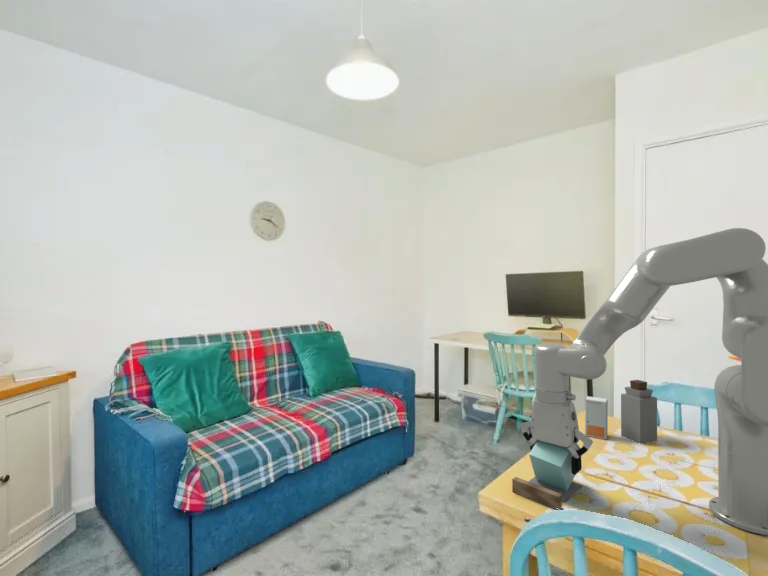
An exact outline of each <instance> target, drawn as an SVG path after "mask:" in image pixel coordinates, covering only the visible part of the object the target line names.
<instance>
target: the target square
mask: <svg viewBox="0 0 768 576" xmlns="http://www.w3.org/2000/svg"><path fill="white" fill-rule="evenodd" d="M527 481H528V482H531V483H533V484H536V485H539V486H541V487H544V488H547V489H549V490H552V491H555V492H557V493H560V494H562V501H563V502H562V503H565V501H566V500H567V499H568V498H569V499H570V498H571V497H572V496H573V495H574V494H576V493H577V490H578V489H579V488H580V489H582V487H581V486H582V485H581V484H579V483H575V482H573V481H572V483H571V485H570V487H569V489H568V491H565V490H562V489H559V488H557V487H554V486H552V485H550V484H548V483H545V482H543V481H541V480H539V479H536V477H535V476H534V477H532V478H531V479H530V480H527ZM580 489H579V490H580ZM579 490H578V491H579ZM569 499H568V500H569ZM568 500H567V501H568ZM567 501H566V502H567Z"/></svg>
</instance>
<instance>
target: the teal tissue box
mask: <svg viewBox="0 0 768 576" xmlns="http://www.w3.org/2000/svg"><path fill="white" fill-rule="evenodd" d="M528 456H529V458H530V463H531V466H532V469H533V474H534V477H536V479H539V480H541V481H543V482H545V483H548V484H550V485H552V486H554V487H557V488H559V489H562V490H565V491H568V489H569V487H570V485H571V483H572V482H573V481H574V478H575V476H576V475H574V474H572V470H571V457H572V456H573V455H572V453H571V452H570V451H569V449H568V448H566V447H561V446H557V445H554V444H550V443H546V442H542V441H539V440H537V442H536V444H535V445H534V447H533V449H532V450H531V452H529V454H528Z"/></svg>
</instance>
